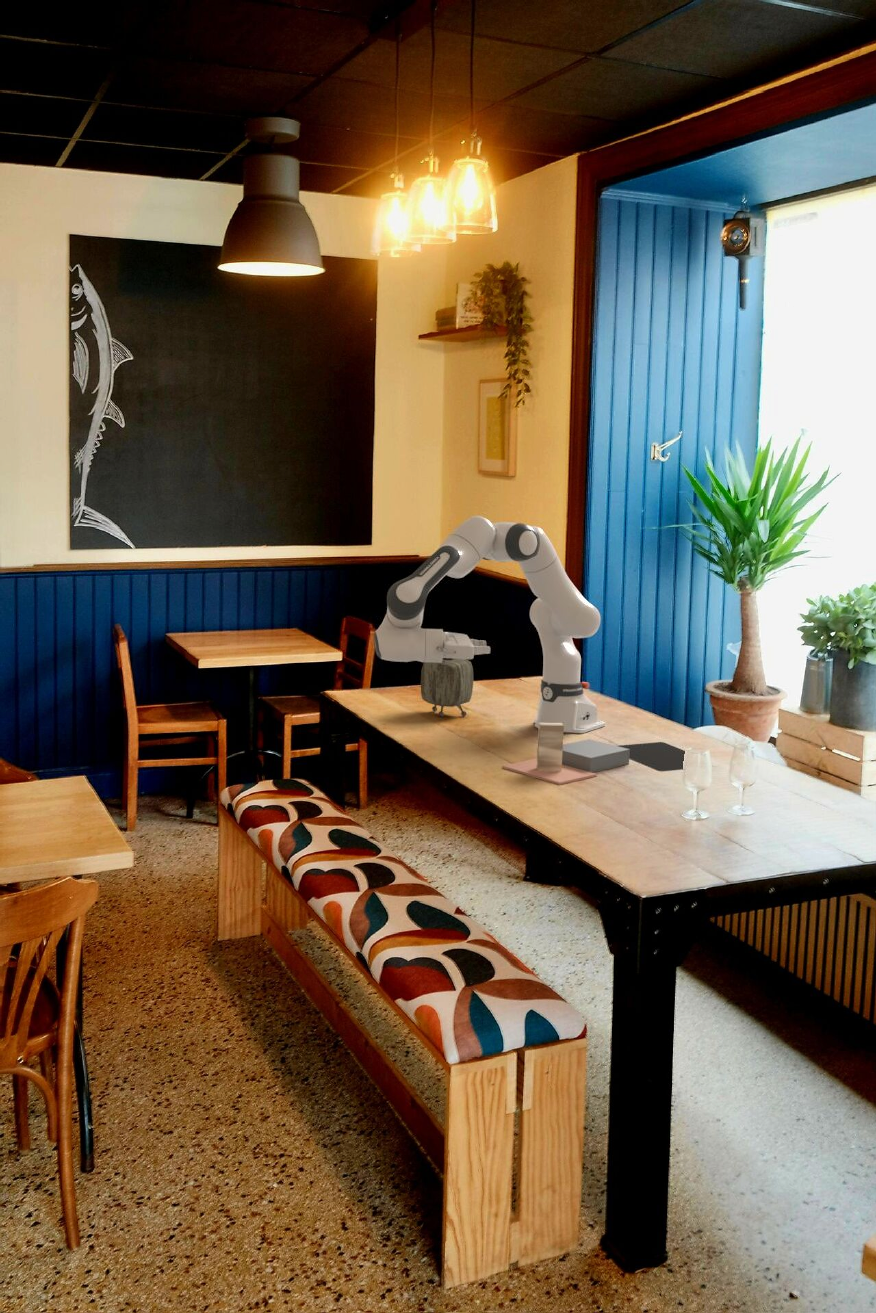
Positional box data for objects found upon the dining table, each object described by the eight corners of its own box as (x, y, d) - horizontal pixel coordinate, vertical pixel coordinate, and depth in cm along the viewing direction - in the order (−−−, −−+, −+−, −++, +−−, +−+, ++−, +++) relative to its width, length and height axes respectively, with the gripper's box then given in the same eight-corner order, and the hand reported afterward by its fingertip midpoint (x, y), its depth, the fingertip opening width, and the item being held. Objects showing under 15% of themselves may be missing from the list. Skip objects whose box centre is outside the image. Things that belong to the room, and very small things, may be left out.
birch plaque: (536, 768, 317) (538, 722, 315) (559, 768, 317) (561, 723, 315) (538, 771, 314) (540, 725, 312) (561, 771, 314) (563, 725, 312)
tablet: (603, 746, 344) (662, 741, 352) (603, 749, 344) (661, 743, 352) (659, 771, 320) (721, 765, 328) (659, 773, 320) (721, 767, 329)
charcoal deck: (588, 753, 337) (589, 739, 336) (628, 763, 327) (629, 749, 326) (549, 761, 326) (550, 747, 325) (589, 773, 316) (590, 757, 315)
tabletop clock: (472, 716, 378) (475, 636, 374) (456, 721, 371) (459, 639, 367) (432, 709, 386) (435, 631, 382) (416, 714, 379) (419, 634, 374)
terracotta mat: (538, 760, 327) (538, 757, 327) (596, 776, 313) (596, 773, 313) (502, 767, 318) (502, 765, 318) (559, 784, 304) (560, 782, 304)
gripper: (438, 640, 311) (493, 641, 312) (433, 628, 331) (484, 629, 332) (438, 664, 312) (492, 665, 313) (433, 651, 332) (483, 652, 333)
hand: (488, 647), depth 323 cm, fingers open, 8 cm apart
